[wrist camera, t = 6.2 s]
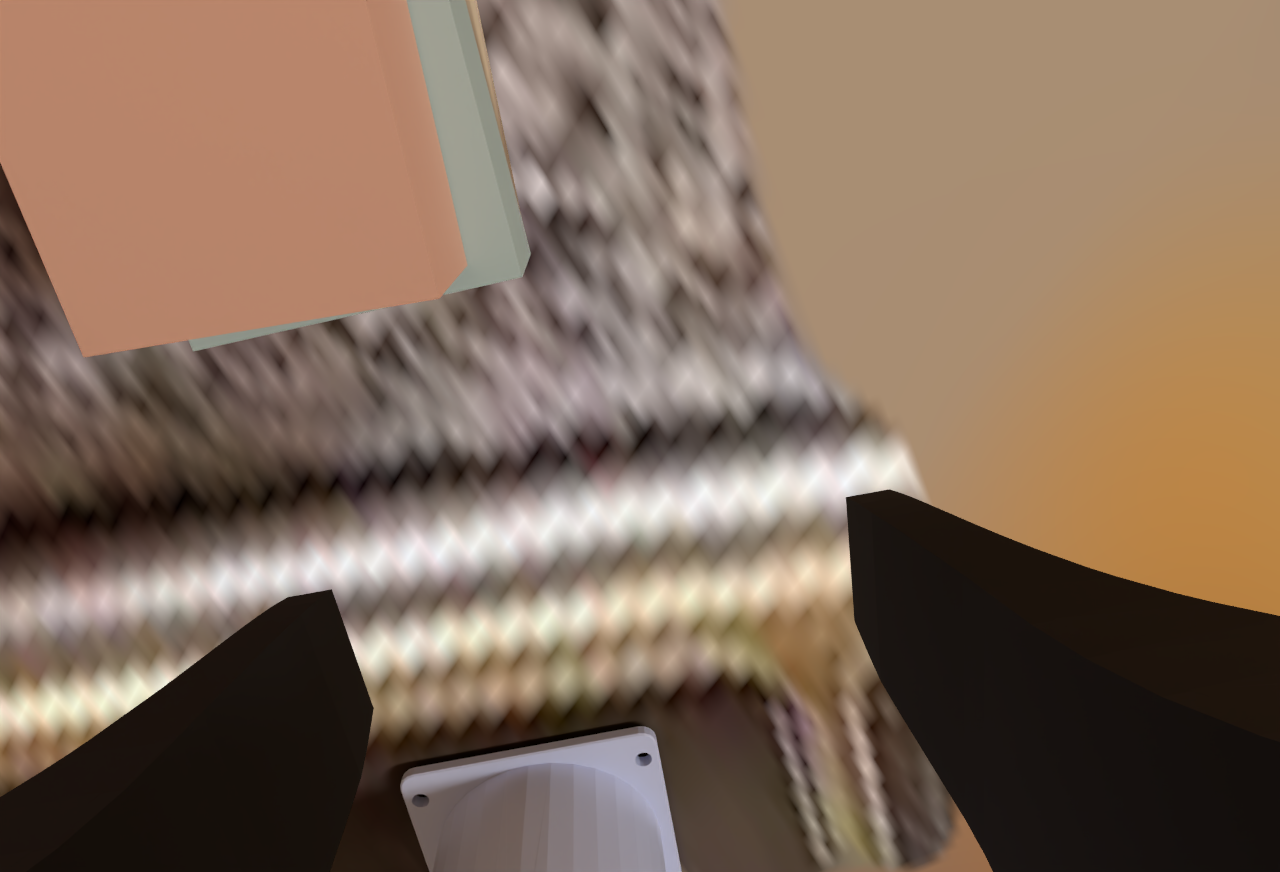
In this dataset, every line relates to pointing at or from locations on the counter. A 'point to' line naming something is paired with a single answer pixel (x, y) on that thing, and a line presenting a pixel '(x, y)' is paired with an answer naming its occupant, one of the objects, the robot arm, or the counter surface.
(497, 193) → the middle block
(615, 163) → the counter surface
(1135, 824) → the robot arm
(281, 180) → the terracotta block
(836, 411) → the counter surface
